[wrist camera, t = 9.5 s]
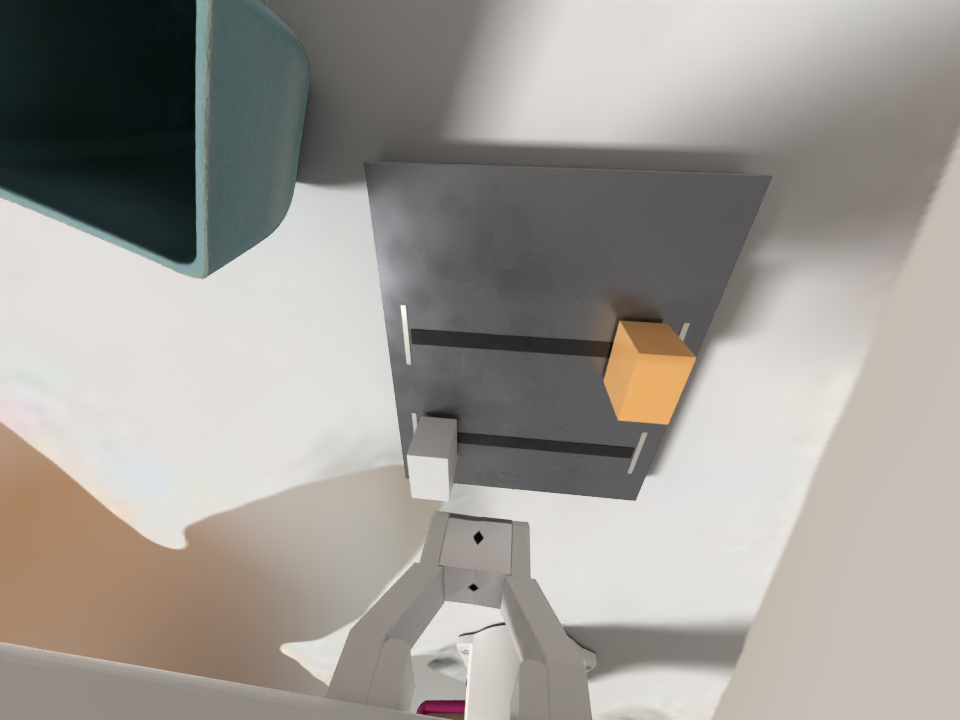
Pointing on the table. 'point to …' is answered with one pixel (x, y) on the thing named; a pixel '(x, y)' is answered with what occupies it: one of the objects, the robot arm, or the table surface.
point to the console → (544, 305)
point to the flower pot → (153, 122)
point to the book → (443, 709)
